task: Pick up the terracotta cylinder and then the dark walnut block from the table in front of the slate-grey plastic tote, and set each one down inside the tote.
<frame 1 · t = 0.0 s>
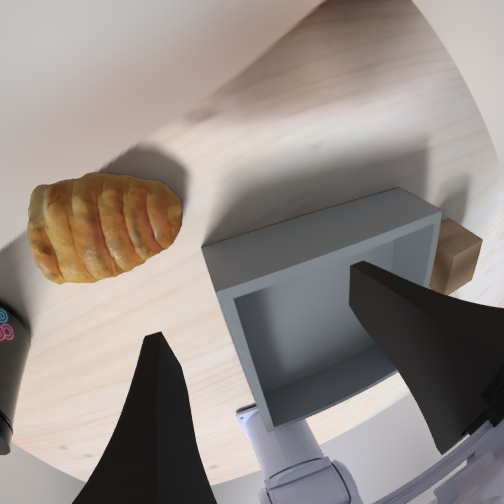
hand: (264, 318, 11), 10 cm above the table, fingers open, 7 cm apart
walnut block: (431, 244, 28), on the table
pastry: (98, 215, 17), on the table
tote: (320, 309, 27), on the table
supplement container: (0, 324, 18), on the table
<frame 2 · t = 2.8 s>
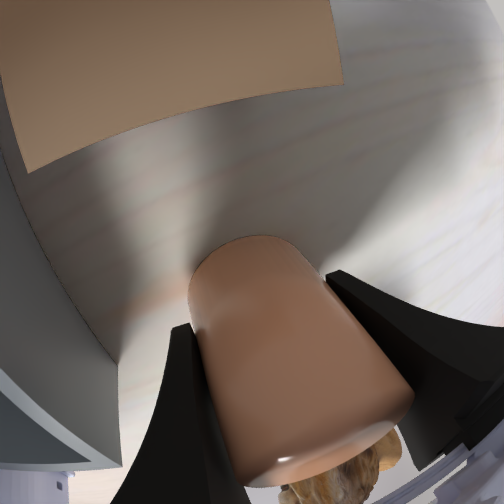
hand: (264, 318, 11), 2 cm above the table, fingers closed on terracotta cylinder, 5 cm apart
walnut block: (154, 29, 6), on the table
lion figurine: (325, 400, 20), on the table
terracotta cylinder: (250, 292, 12), on the table, touching gripper
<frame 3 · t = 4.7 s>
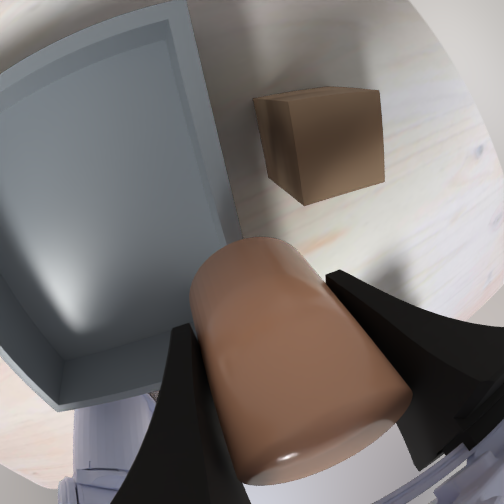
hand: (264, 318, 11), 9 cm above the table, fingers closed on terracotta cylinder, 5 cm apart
walnut block: (298, 130, 17), on the table
tote: (87, 230, 16), on the table
terracotta cylinder: (251, 292, 12), point 8 cm above the table, touching gripper
when the fingers open (4 cm above the table, at t = 6.9 s): terracotta cylinder drops 1 cm, resting on tote.
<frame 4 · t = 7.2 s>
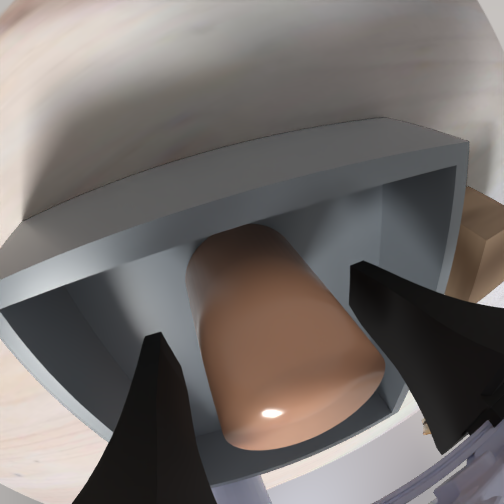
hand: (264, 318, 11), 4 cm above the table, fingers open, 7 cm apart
walnut block: (443, 226, 17), on the table
tote: (254, 330, 16), on the table
terracotta cylinder: (242, 275, 13), point 1 cm above the table, touching tote
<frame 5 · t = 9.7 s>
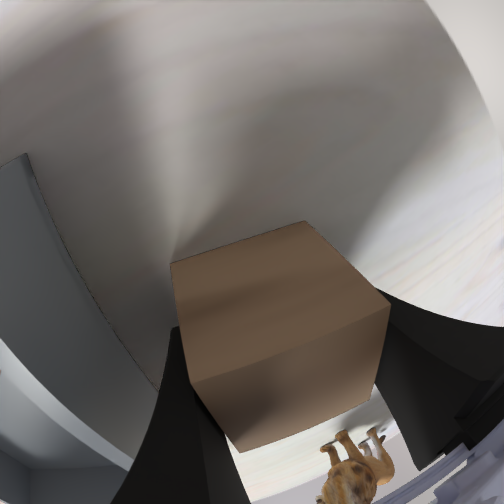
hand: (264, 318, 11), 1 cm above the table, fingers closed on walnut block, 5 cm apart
walnut block: (252, 295, 12), on the table, touching gripper
lion figurine: (342, 440, 26), on the table
tote: (13, 394, 11), on the table
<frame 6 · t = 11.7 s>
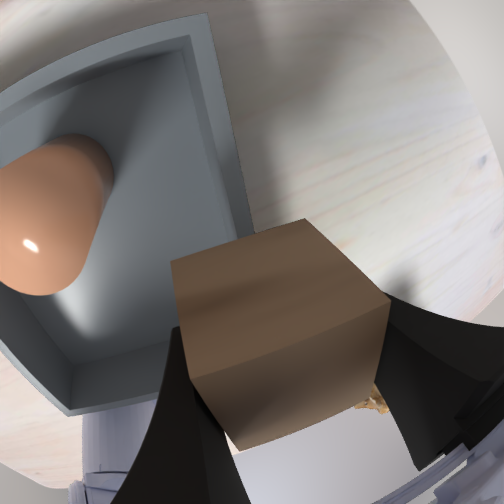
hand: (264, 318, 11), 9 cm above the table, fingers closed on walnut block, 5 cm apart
walnut block: (252, 292, 12), point 8 cm above the table, touching gripper
lion figurine: (368, 349, 32), on the table
tote: (100, 239, 17), on the table
terracotta cylinder: (71, 178, 14), point 1 cm above the table, touching tote
when the fingers open (4 cm above the table, at t = 13.8 s): walnut block drops 1 cm, resting on tote.
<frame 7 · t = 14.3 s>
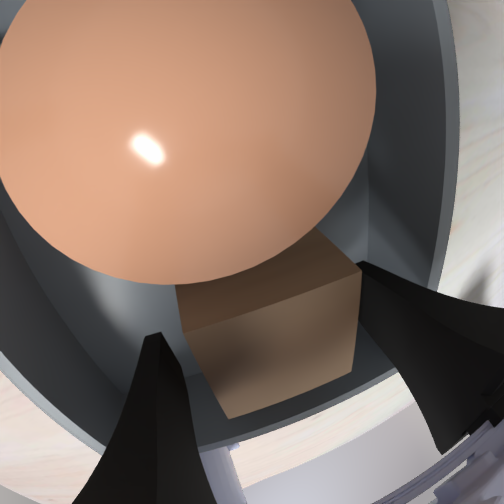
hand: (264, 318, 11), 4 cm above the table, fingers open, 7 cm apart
walnut block: (242, 273, 13), point 1 cm above the table, touching tote
tote: (195, 203, 11), on the table
terracotta cylinder: (168, 95, 9), point 1 cm above the table, touching tote
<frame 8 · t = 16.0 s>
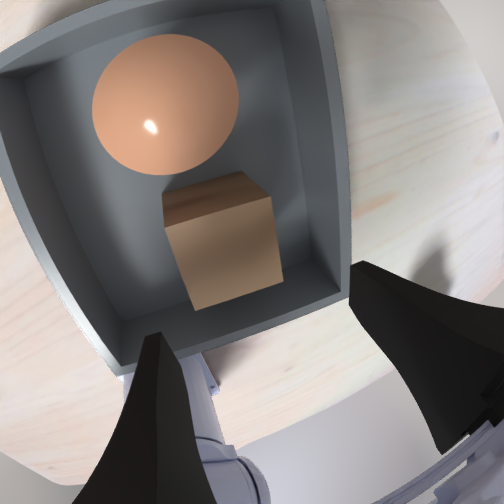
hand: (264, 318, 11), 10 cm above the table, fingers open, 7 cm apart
walnut block: (211, 218, 19), point 1 cm above the table, touching tote
tote: (179, 170, 17), on the table
terracotta cylinder: (161, 102, 15), point 1 cm above the table, touching tote
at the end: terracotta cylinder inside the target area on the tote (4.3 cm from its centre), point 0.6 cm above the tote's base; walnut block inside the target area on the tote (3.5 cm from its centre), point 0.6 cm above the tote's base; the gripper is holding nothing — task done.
